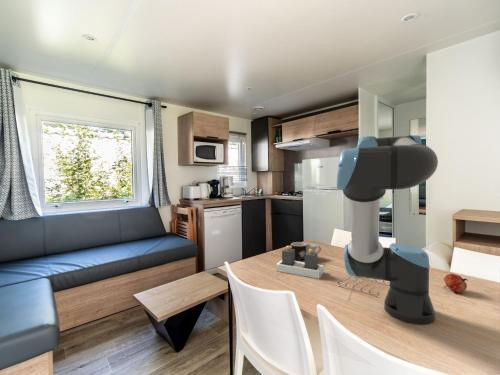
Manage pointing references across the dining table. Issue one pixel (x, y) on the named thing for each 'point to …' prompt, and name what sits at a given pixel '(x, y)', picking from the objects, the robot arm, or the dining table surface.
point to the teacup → (311, 246)
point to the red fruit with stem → (455, 283)
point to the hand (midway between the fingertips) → (367, 218)
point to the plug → (288, 256)
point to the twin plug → (311, 260)
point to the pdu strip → (300, 269)
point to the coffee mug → (299, 251)
